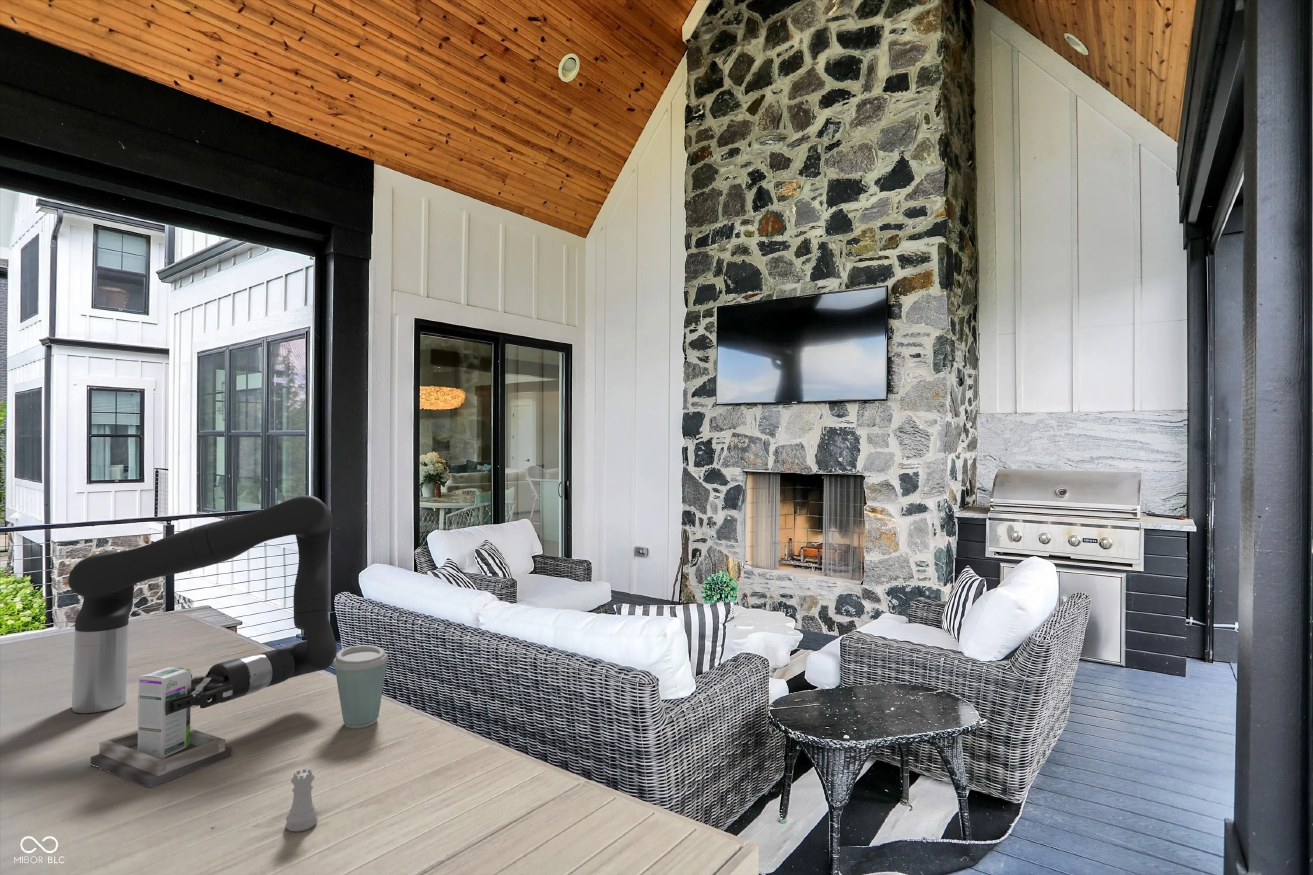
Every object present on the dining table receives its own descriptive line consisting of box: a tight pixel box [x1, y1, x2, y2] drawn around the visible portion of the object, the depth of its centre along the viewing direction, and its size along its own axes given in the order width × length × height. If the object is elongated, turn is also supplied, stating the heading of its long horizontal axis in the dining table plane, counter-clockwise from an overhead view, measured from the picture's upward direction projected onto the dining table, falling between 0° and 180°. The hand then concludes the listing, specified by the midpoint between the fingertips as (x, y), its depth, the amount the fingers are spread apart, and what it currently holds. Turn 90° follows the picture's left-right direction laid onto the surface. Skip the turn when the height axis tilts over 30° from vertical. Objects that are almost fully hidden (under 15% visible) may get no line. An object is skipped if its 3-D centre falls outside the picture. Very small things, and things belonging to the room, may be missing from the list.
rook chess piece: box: [285, 768, 319, 833], centre depth 107 cm, size 4×4×8 cm
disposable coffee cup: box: [332, 644, 389, 729], centre depth 147 cm, size 11×11×15 cm
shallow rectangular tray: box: [90, 728, 233, 789], centre depth 128 cm, size 18×14×4 cm
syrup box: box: [137, 666, 192, 759], centre depth 128 cm, size 6×6×14 cm
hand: (153, 702), depth 126 cm, fingers open, 8 cm apart
